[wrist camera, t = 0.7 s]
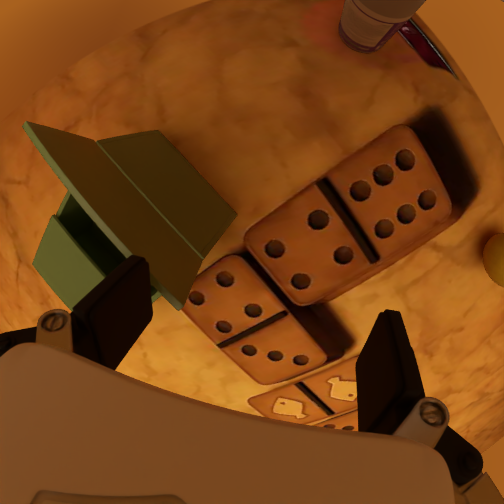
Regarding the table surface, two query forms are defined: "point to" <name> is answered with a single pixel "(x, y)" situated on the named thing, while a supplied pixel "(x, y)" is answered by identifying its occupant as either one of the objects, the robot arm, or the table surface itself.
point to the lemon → (495, 258)
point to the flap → (119, 209)
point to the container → (374, 22)
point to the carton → (154, 191)
